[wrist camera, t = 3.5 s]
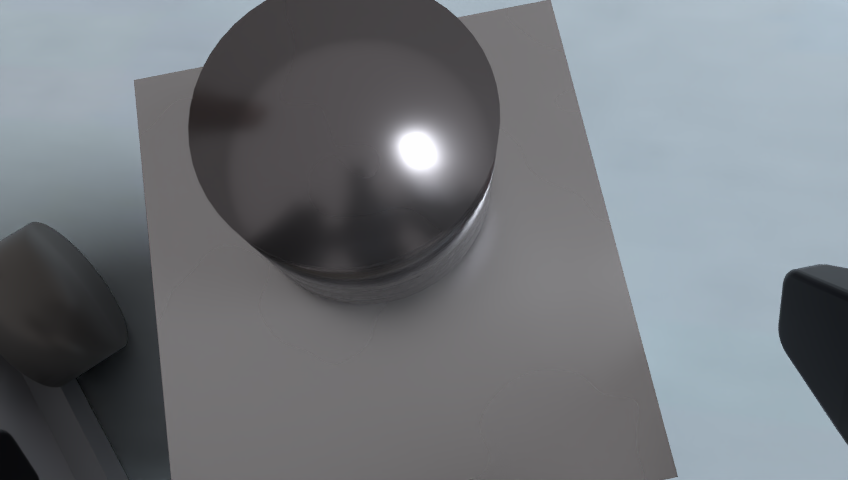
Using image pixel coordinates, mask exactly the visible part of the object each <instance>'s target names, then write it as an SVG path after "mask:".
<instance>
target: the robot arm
mask: <svg viewBox="0 0 848 480" xmlns="http://www.w3.org/2000/svg"><path fill="white" fill-rule="evenodd" d="M778 330H779V337H780V341H781V344H782V346H783V349H784V350H785V352H786V354H787V355H788V357H789V358H790V360H791V361H792V363H793V364H794V366H795V367H796V369H797V370H798V372H799V373H800V375H801V376H802V378H803V379H804V381H805V382H806V384H807V385H808V387H809V388H810V390H811V391H812V393H813V394H814V396H815V397H816V399H817V400H818V402H819V403H820V405H821V406H822V408H823V409H824V411H825V412H826V414H827V415H828V417H829V418H830V420H831V421H832V423H833V424H834V426H835V427H836V429H837V430H838V432H839V433H840V435H841V436H842V437H843V439H844V440H845V442H846V443H847V444H848V268H842V267H837V266H832V265H823V264H819V265H814V266H809V267H804V268H799V269H794V270H791V271H790V272H788V273H787V274H786V276H785V278H784V281H783V288H782V297H781V307H780V316H779V327H778ZM0 480H40V479H39V476H38V474H37V473H36V471H35V469H34V468H33V466H32V465H31V463H30V462H29V460H28V459H27V457H26V456H25V454H24V453H23V451H22V450H21V448H20V447H19V445H18V444H17V442H16V440H15V439H14V437H13V436H12V435H11V434H10V433H9V432H7V431H6V430H3V429H0Z"/></svg>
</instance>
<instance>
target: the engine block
mask: <svg viewBox="0 0 848 480" xmlns="http://www.w3.org/2000/svg"><path fill="white" fill-rule="evenodd" d="M134 86H135V96H136V107H137V118H138V129H139V139H140V150H141V161H142V171H143V182H144V193H145V204H146V214H147V225H148V236H149V247H150V257H151V268H152V279H153V289H154V300H155V311H156V322H157V332H158V343H159V354H160V364H161V375H162V386H163V397H164V407H165V418H166V429H167V440H168V450H169V461H170V472H171V480H664V479H669V478H675V477H678V476H677V472H676V468H675V464H674V461H673V457H672V453H671V449H670V446H669V442H668V438H667V434H666V431H665V427H664V423H663V419H662V416H661V412H660V408H659V404H658V401H657V397H656V393H655V389H654V386H653V382H652V378H651V375H650V371H649V367H648V363H647V360H646V356H645V352H644V348H643V345H642V341H641V337H640V333H639V330H638V326H637V322H636V318H635V315H634V311H633V307H632V303H631V300H630V296H629V292H628V288H627V285H626V281H625V277H624V273H623V270H622V266H621V262H620V258H619V255H618V251H617V247H616V243H615V240H614V236H613V232H612V228H611V225H610V221H609V217H608V214H607V210H606V206H605V202H604V199H603V195H602V191H601V187H600V184H599V180H598V176H597V172H596V169H595V165H594V161H593V157H592V154H591V150H590V146H589V142H588V139H587V135H586V131H585V127H584V124H583V120H582V116H581V112H580V109H579V105H578V101H577V97H576V94H575V90H574V86H573V82H572V79H571V75H570V71H569V68H568V64H567V60H566V56H565V53H564V49H563V45H562V41H561V38H560V34H559V30H558V26H557V23H556V19H555V15H554V11H553V8H552V4H551V0H546V1H541V2H536V3H530V4H525V5H520V6H515V7H510V8H505V9H499V10H494V11H489V12H484V13H479V14H474V15H468V16H463V17H458V18H457V17H456V16H455V15H454V14H452V13H451V12H450V11H449V10H448V9H447V8H445V7H444V6H442V5H441V4H439V3H438V2H436V1H435V0H266V1H264V2H263V3H261V4H260V5H258V6H257V7H255V8H254V9H252V10H251V11H250V12H248V13H247V14H246V15H245V16H244V17H242V18H241V19H240V20H239V21H238V22H237V23H235V24H234V25H233V26H232V28H231V29H230V30H229V31H228V32H227V33H226V34H225V35H224V36H223V37H222V38H221V40H220V41H219V43H218V44H217V45H216V47H215V48H214V50H213V51H212V52H211V54H210V55H209V57H208V59H207V61H206V63H205V65H204V67H200V68H195V69H189V70H184V71H179V72H174V73H169V74H164V75H158V76H153V77H148V78H143V79H138V80H134Z"/></svg>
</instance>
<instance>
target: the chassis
mask: <svg viewBox="0 0 848 480" xmlns="http://www.w3.org/2000/svg"><path fill="white" fill-rule="evenodd" d="M127 340H128V333H127V327H126V324H125V320H124V318H123V315H122V313H121V310H120V308H119V306H118V304H117V302H116V300H115V298H114V297H113V295H112V293H111V292H110V290H109V288H108V287H107V285H106V284H105V282H104V281H103V279H102V278H101V277H100V275H99V274H98V273H97V271H96V270H95V269H94V267H93V266H92V265H91V264H90V262H89V261H88V260H87V259H86V258H85V257H84V256H83V254H82V253H81V252H80V251H79V250H78V249H77V248H76V247H75V246H74V245H73V244H72V243H71V242H69V241H68V240H67V239H66V238H65V237H64V236H62V235H61V234H60V233H58V232H57V231H56V230H54V229H53V228H51V227H49V226H47V225H45V224H42V223H39V222H32V223H29V224H28V225H26V226H24V227H23V228H21V229H20V230H18V231H16V232H15V233H13V234H11V235H10V236H8V237H7V238H5V239H3V240H2V241H0V429H3V430H6V431H7V432H9V433H10V434H11V435H12V436H13V437H14V439H15V440H16V442H17V444H18V445H19V447H20V448H21V450H22V451H23V453H24V454H25V456H26V457H27V459H28V460H29V462H30V463H31V465H32V466H33V468H34V469H35V471H36V473H37V474H38V476H39V479H40V480H129V479H128V477H127V475H126V474H125V472H124V470H123V468H122V466H121V464H120V462H119V460H118V458H117V456H116V454H115V453H114V451H113V449H112V447H111V445H110V443H109V441H108V439H107V437H106V435H105V433H104V432H103V430H102V428H101V426H100V424H99V422H98V420H97V418H96V416H95V414H94V412H93V411H92V409H91V407H90V405H89V403H88V401H87V399H86V397H85V395H84V393H83V391H82V390H81V388H80V386H79V384H78V382H77V380H76V377H78V376H79V375H81V374H83V373H84V372H86V371H87V370H89V369H90V368H92V367H93V366H95V365H97V364H98V363H100V362H101V361H103V360H104V359H106V358H107V357H109V356H111V355H112V354H114V353H115V352H117V351H118V350H120V349H121V348H123V347H125V345H126V344H127Z"/></svg>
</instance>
